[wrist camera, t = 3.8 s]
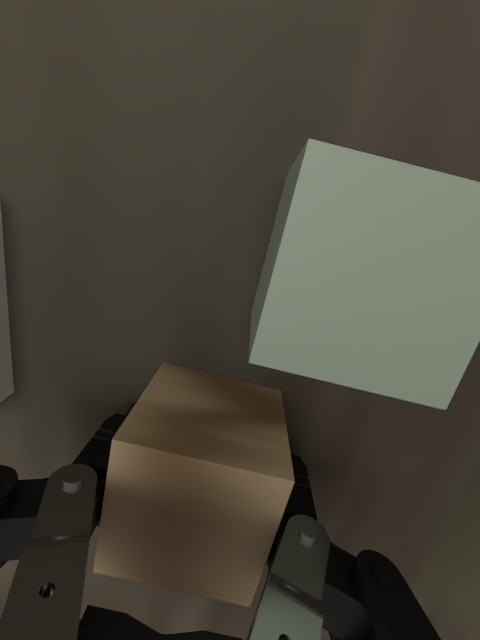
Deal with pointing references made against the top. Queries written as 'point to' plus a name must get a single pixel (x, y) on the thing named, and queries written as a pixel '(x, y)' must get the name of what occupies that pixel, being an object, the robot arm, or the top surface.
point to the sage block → (371, 276)
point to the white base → (4, 329)
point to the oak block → (196, 486)
